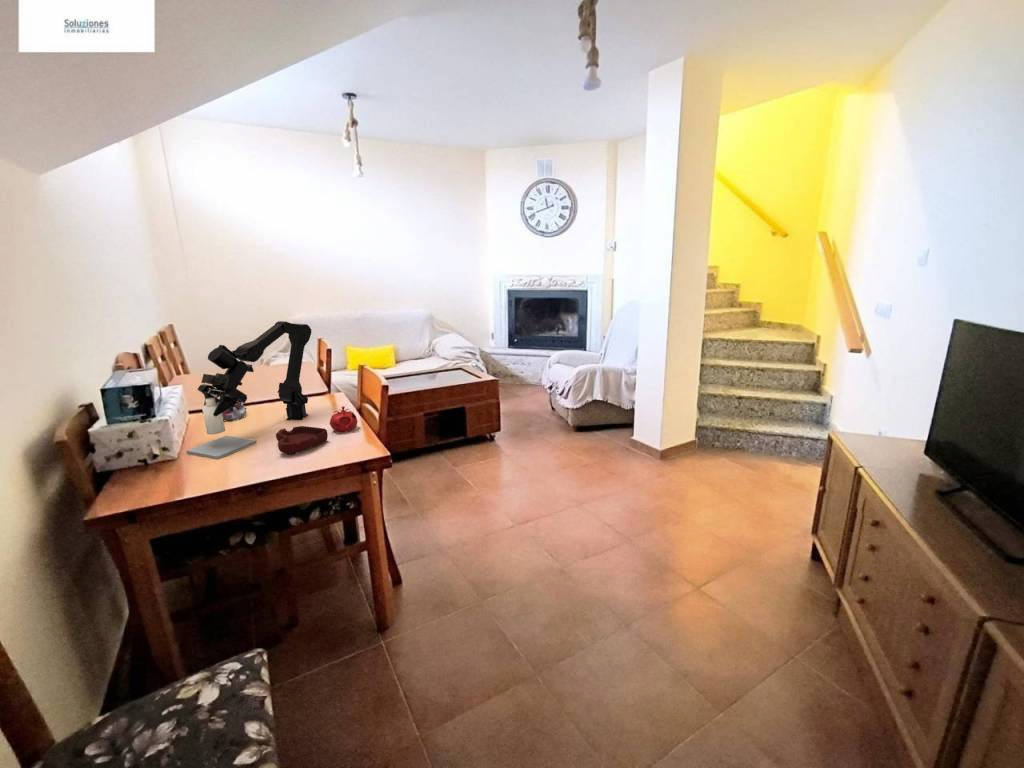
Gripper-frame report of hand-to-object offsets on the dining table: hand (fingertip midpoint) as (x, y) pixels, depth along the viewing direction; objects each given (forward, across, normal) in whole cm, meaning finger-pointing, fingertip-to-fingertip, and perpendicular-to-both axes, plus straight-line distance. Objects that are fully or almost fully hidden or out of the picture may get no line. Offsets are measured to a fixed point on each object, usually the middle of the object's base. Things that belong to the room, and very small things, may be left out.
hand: (208, 414), depth 160 cm
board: (+8, +2, +10) cm, 13 cm away
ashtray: (-1, +27, +19) cm, 33 cm away
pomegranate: (-13, +29, +32) cm, 45 cm away
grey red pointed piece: (-8, -26, +27) cm, 38 cm away
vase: (+4, 0, +6) cm, 7 cm away
